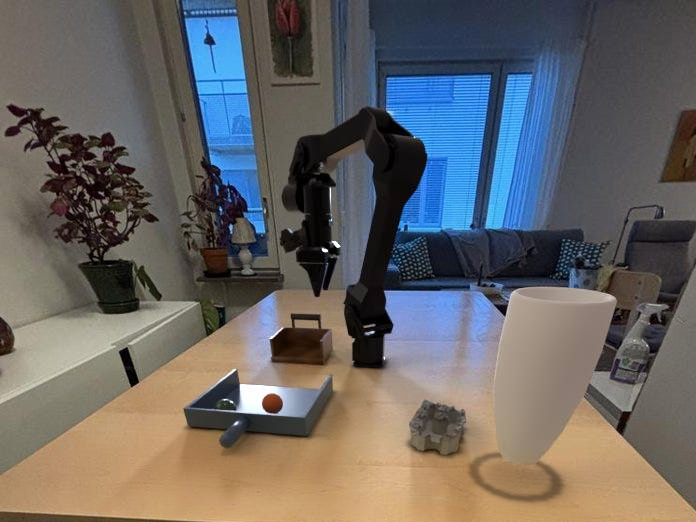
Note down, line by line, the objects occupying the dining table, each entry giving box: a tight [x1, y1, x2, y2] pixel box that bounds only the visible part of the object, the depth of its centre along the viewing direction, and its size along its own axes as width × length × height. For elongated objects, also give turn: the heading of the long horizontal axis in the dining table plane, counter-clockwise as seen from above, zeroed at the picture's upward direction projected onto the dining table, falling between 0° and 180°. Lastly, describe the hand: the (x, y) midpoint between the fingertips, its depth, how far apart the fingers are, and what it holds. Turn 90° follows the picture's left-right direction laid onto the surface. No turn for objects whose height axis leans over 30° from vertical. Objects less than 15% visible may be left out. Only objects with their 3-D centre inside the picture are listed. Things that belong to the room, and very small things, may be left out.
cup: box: [493, 286, 618, 466], centre depth 45 cm, size 10×10×22 cm
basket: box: [269, 312, 334, 366], centre depth 90 cm, size 12×10×8 cm
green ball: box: [214, 399, 237, 411], centre depth 63 cm, size 3×3×3 cm
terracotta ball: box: [262, 393, 283, 414], centre depth 65 cm, size 3×3×3 cm
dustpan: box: [183, 368, 334, 449], centre depth 64 cm, size 26×19×3 cm
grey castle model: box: [408, 399, 467, 456], centre depth 59 cm, size 11×8×4 cm
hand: (321, 293), depth 94 cm, fingers open, 9 cm apart
